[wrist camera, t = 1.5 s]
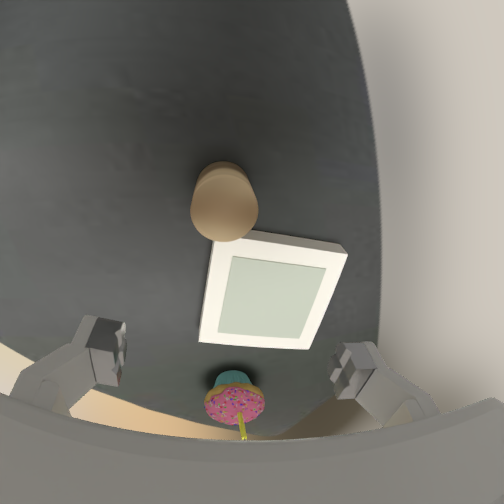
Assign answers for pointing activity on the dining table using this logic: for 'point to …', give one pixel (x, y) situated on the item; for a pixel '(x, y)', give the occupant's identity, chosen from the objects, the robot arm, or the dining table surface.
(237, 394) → the cupcake
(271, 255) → the base slab
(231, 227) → the bread loaf
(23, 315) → the dining table surface
